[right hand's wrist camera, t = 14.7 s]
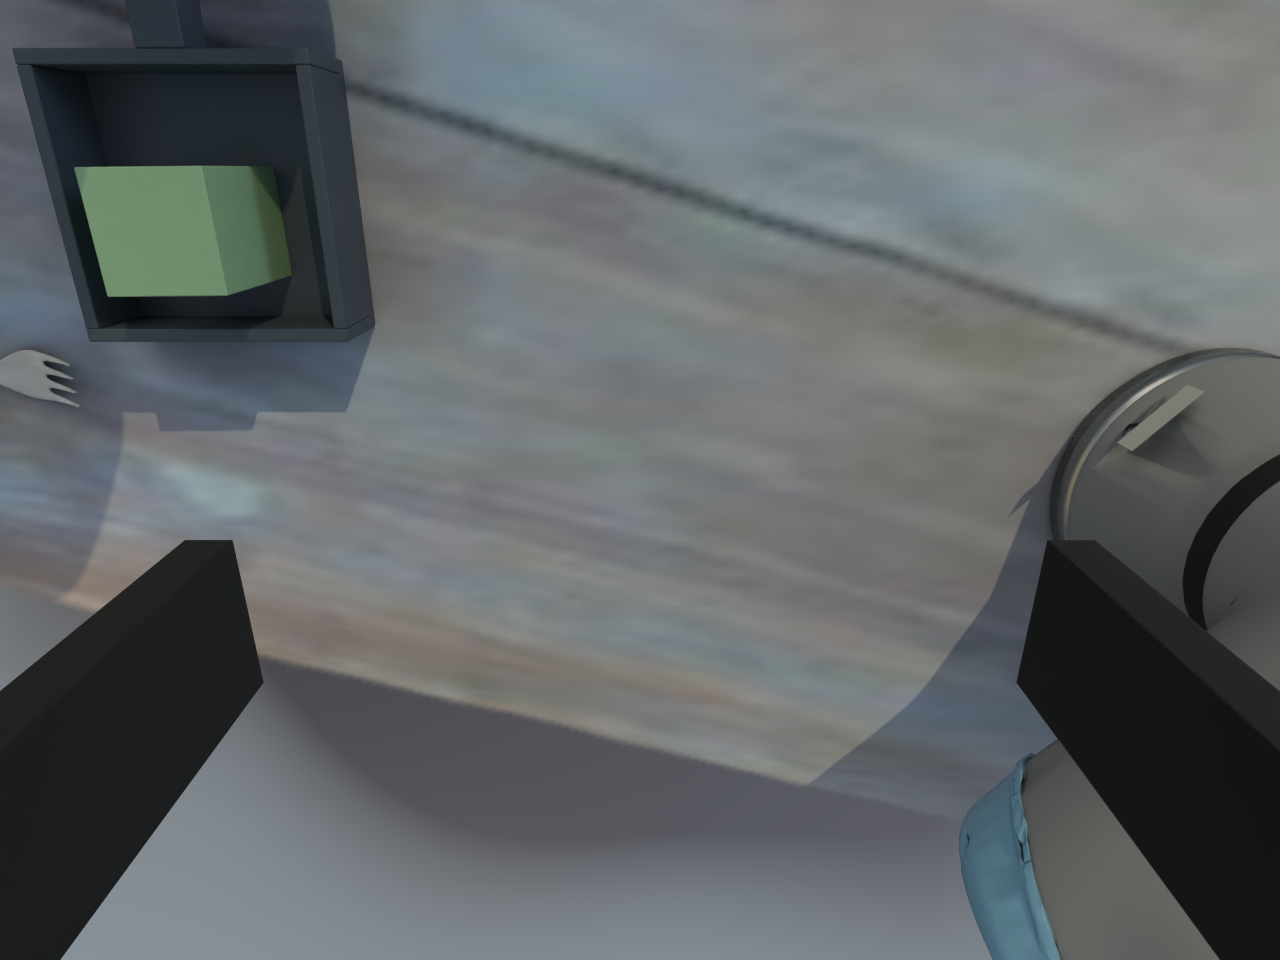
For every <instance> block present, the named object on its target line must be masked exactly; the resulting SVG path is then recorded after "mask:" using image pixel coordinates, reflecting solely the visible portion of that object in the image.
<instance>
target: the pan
mask: <svg viewBox="0 0 1280 960" xmlns="http://www.w3.org/2000/svg"><path fill="white" fill-rule="evenodd" d="M125 2H126V7H127V11H128V16H129V21H130V26H131V30H132V35H133V40H134V44H135V47H136V48H13V53H14V57H15V61H16V63H17V64H18V65H17V68H18V72H19V76H20V80H21V83H22V87H23V91H24V95H25V98H26V102H27V106H28V110H29V114H30V117H31V121H32V125H33V129H34V132H35V136H36V140H37V144H38V147H39V151H40V155H41V159H42V163H43V166H44V170H45V174H46V178H47V181H48V185H49V189H50V193H51V197H52V200H53V204H54V208H55V212H56V215H57V219H58V223H59V227H60V230H61V234H62V238H63V242H64V246H65V249H66V253H67V257H68V261H69V264H70V268H71V272H72V276H73V280H74V283H75V287H76V291H77V295H78V298H79V302H80V306H81V310H82V313H83V317H84V321H85V325H86V328H88V329H87V332H88V336H89V340H90V341H92V342H347V341H349V340H351V339H353V338H354V337H356V336H358V335H359V334H361V333H363V332H365V331H366V330H368V329H370V328H371V327H373V326H375V320H374V312H373V305H372V297H371V289H370V281H369V273H368V265H367V257H366V249H365V241H364V234H363V226H362V218H361V210H360V202H359V194H358V186H357V178H356V170H355V163H354V155H353V147H352V139H351V131H350V123H349V115H348V107H347V100H346V92H345V84H344V76H343V68H342V61H340V60H338V59H335V58H332V57H329V56H326V55H324V54H321V53H318V52H315V51H313V50H310V49H307V48H207V45H206V39H205V34H204V28H203V23H202V17H201V12H200V6H199V1H198V0H125ZM126 166H273V167H274V172H275V178H276V184H277V190H278V196H279V201H280V207H281V213H282V219H283V225H284V231H285V236H286V242H287V248H288V254H289V260H290V265H291V271H292V276H290V277H287V278H283V279H280V280H277V281H274V282H270V283H267V284H264V285H261V286H257V287H254V288H251V289H248V290H244V291H241V292H238V293H234V294H231V295H228V296H157V297H108V296H107V292H106V288H105V285H104V281H103V277H102V273H101V269H100V265H99V261H98V258H97V254H96V250H95V246H94V242H93V238H92V235H91V231H90V227H89V223H88V219H87V215H86V212H85V208H84V204H83V200H82V196H81V192H80V188H79V185H78V181H77V177H76V173H75V169H74V168H75V167H126Z"/></svg>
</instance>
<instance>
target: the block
mask: <svg viewBox="0 0 1280 960" xmlns="http://www.w3.org/2000/svg"><path fill="white" fill-rule="evenodd" d="M74 169H75V173H76V177H77V181H78V185H79V188H80V192H81V196H82V200H83V204H84V208H85V212H86V215H87V219H88V223H89V227H90V231H91V235H92V238H93V242H94V246H95V250H96V254H97V258H98V261H99V265H100V269H101V273H102V277H103V281H104V285H105V288H106V292H107V296H108V297H157V296H228V295H231V294H234V293H238V292H241V291H244V290H248V289H251V288H254V287H257V286H261V285H264V284H267V283H270V282H274V281H277V280H280V279H283V278H287V277H290V276H292V271H291V265H290V260H289V254H288V248H287V242H286V236H285V231H284V225H283V219H282V213H281V207H280V201H279V196H278V190H277V184H276V178H275V172H274V167H273V166H126V167H75V168H74Z"/></svg>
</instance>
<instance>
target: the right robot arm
mask: <svg viewBox="0 0 1280 960" xmlns="http://www.w3.org/2000/svg"><path fill="white" fill-rule="evenodd" d="M1051 523H1052V529H1053V534H1054V537H1055V540H1047V545H1046V549H1045V554H1044V559H1043V563H1042V568H1041V572H1040V577H1039V582H1038V586H1037V591H1036V595H1035V600H1034V605H1033V609H1032V614H1031V618H1030V623H1029V627H1028V632H1027V637H1026V641H1025V646H1024V650H1023V655H1022V660H1021V664H1020V669H1019V673H1018V678H1017V684H1018V685H1019V686H1020V688H1021V689H1022V691H1023V692H1024V693H1025V695H1026V696H1027V697H1028V699H1029V700H1030V701H1031V703H1032V704H1033V706H1034V707H1035V708H1036V710H1037V711H1038V712H1039V714H1040V715H1041V717H1042V718H1043V719H1044V721H1045V722H1046V723H1047V725H1048V726H1049V727H1050V729H1051V730H1052V732H1053V733H1054V734H1055V736H1056V737H1057V738H1058V739H1057V740H1056V741H1054V742H1053V743H1052V744H1050V745H1049V746H1047V747H1046V748H1045V749H1043V750H1042V751H1041V752H1039V753H1038V754H1036V755H1034V754H1029V755H1027V756H1025V757H1023V758H1022V759H1021V760H1020V761H1019V762H1018V763H1017V765H1016V768H1015V770H1014V772H1013V773H1011V774H1010V775H1009V776H1008V777H1007V778H1005V779H1004V780H1003V781H1002V782H1000V783H999V784H998V785H997V786H996V787H994V788H993V789H992V790H991V791H990V792H988V793H987V794H986V795H985V796H983V797H982V798H981V799H980V800H979V801H977V802H976V803H975V804H974V805H973V806H972V807H971V808H970V810H969V811H968V813H967V814H966V816H965V819H964V821H963V823H962V826H961V831H960V836H959V853H960V859H961V867H962V869H961V872H962V877H963V881H964V885H965V889H966V892H967V896H968V899H969V902H970V905H971V908H972V911H973V914H974V917H975V919H976V922H977V924H978V927H979V929H980V932H981V934H982V936H983V939H984V941H985V944H986V946H987V948H988V950H989V952H990V955H991V957H992V959H993V960H1280V356H1276V355H1273V354H1269V353H1266V352H1262V351H1257V350H1251V349H1241V348H1220V349H1211V350H1203V351H1198V352H1194V353H1190V354H1186V355H1183V356H1179V357H1176V358H1173V359H1170V360H1168V361H1166V362H1163V363H1161V364H1158V365H1156V366H1154V367H1152V368H1150V369H1148V370H1146V371H1144V372H1143V373H1141V374H1139V375H1138V376H1136V377H1134V378H1133V379H1131V380H1129V381H1128V382H1127V383H1125V384H1124V385H1123V386H1121V387H1120V388H1118V389H1117V390H1116V391H1115V392H1113V393H1112V394H1111V395H1110V396H1109V397H1108V398H1106V399H1105V400H1104V401H1103V402H1102V403H1101V404H1100V405H1099V406H1098V407H1097V408H1096V409H1095V410H1094V411H1093V412H1092V413H1091V415H1090V416H1089V417H1088V418H1087V419H1086V420H1085V422H1084V423H1083V424H1082V426H1081V427H1080V428H1079V430H1078V431H1077V433H1076V434H1075V436H1074V437H1073V439H1072V440H1071V442H1070V444H1069V445H1068V447H1067V449H1066V451H1065V453H1064V455H1063V457H1062V460H1061V462H1060V465H1059V467H1058V470H1057V473H1056V477H1055V480H1054V484H1053V490H1052V496H1051ZM262 684H263V678H262V673H261V669H260V664H259V660H258V655H257V650H256V646H255V641H254V637H253V632H252V628H251V623H250V618H249V614H248V609H247V605H246V600H245V595H244V591H243V586H242V582H241V577H240V572H239V568H238V563H237V559H236V554H235V549H234V545H233V540H185V541H183V542H182V543H181V544H180V545H178V546H177V547H176V548H175V549H174V550H172V551H171V552H170V553H169V554H167V555H166V556H165V557H164V558H163V559H161V560H160V561H159V562H158V563H156V564H155V565H154V566H153V567H152V568H150V569H149V570H148V571H147V572H145V573H144V574H143V575H142V576H141V577H139V578H138V579H137V580H136V581H134V582H133V583H132V584H131V585H130V586H128V587H127V588H126V589H125V590H123V591H122V592H121V593H120V594H118V595H117V596H116V597H115V598H114V599H112V600H111V601H110V602H109V603H107V604H106V605H105V606H104V607H103V608H101V609H100V610H99V611H98V612H96V613H95V614H94V615H93V616H92V617H90V618H89V619H88V620H87V621H85V622H84V623H83V624H82V625H81V626H79V627H78V628H77V629H76V630H74V631H73V632H72V633H71V634H70V635H68V636H67V637H66V638H65V639H63V640H62V641H61V642H60V643H58V644H57V645H56V646H55V647H54V648H52V649H51V650H50V651H49V652H47V653H46V654H45V655H44V656H43V657H41V658H40V659H39V660H38V661H36V662H35V663H34V664H33V665H32V666H30V667H29V668H28V669H27V670H25V671H24V672H23V673H22V674H21V675H19V676H18V677H17V678H16V679H14V680H13V681H12V682H11V683H10V684H8V685H7V686H6V687H5V688H3V689H2V690H1V691H0V960H60V959H61V958H62V957H63V955H64V954H65V953H66V951H67V950H68V949H69V947H70V946H71V944H72V943H73V942H74V940H75V939H76V938H77V936H78V935H79V934H80V932H81V931H82V929H83V928H84V927H85V925H86V924H87V923H88V921H89V920H90V918H91V917H92V916H93V914H94V913H95V912H96V910H97V909H98V908H99V906H100V905H101V903H102V902H103V901H104V899H105V898H106V897H107V895H108V894H109V893H110V891H111V890H112V888H113V887H114V886H115V884H116V883H117V882H118V880H119V879H120V878H121V876H122V875H123V873H124V872H125V871H126V869H127V868H128V867H129V865H130V864H131V863H132V861H133V860H134V858H135V857H136V856H137V854H138V853H139V852H140V850H141V849H142V848H143V846H144V845H145V843H146V842H147V841H148V839H149V838H150V836H151V835H152V834H153V833H154V831H155V830H156V828H157V827H158V826H159V824H160V823H161V822H162V820H163V819H164V817H165V816H166V815H167V813H168V812H169V811H170V809H171V808H172V807H173V805H174V804H175V802H176V801H177V800H178V798H179V797H180V796H181V794H182V793H183V792H184V790H185V789H186V787H187V786H188V785H189V783H190V782H191V781H192V779H193V778H194V776H195V775H196V774H197V772H198V771H199V770H200V768H201V767H202V766H203V764H204V763H205V762H206V760H207V759H208V757H209V756H210V755H211V753H212V752H213V751H214V749H215V748H216V747H217V745H218V744H219V742H220V741H221V740H222V738H223V737H224V735H225V734H226V733H227V732H228V730H229V729H230V727H231V726H232V725H233V723H234V722H235V721H236V719H237V718H238V717H239V715H240V714H241V712H242V711H243V710H244V708H245V707H246V706H247V704H248V703H249V701H250V700H251V699H252V697H253V696H254V695H255V693H256V692H257V691H258V689H259V688H260V686H261V685H262Z"/></svg>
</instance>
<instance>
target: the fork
mask: <svg viewBox="0 0 1280 960" xmlns="http://www.w3.org/2000/svg"><path fill="white" fill-rule="evenodd" d="M44 361H50V362H55V363H59V364H64V365H66V366H71V364H70V363H67V362H65V361H63V360H60V359H58V358H55V357H53V356H50V355H47V354H44V353H41V352H37V351H34V350H21V351H17V352H15V353H12V354H10V355H8V356H6V357H5V358H3V359H1V360H0V385H2V386H5V387H7V388H10V389H12V390H15V391H17V392H19V393H22V394H25V395H28V396H31V397H34V398H38V399H44V400H53V401H58V402H62V403H66V404H70V405H73V406H76V407H81V405H79V404H77V403H75V402H73V401H71V400H68V399H66V398H64V397H61V396H59V395H56V394H54V393H53V392H51V390H50V389H51V388H56V389H60V390H64V391H68V392H72V393H78V392H77V391H75V390H73V389H70V388H68V387H66V386H64V385H61V384H59V383H56V382H54V381H51V380H50V379H48V377H47V375H55V376H59V377H63V378H67V379H70V380H72V379H74V378H73V377H71V376H69V375H66V374H64V373H62V372H59V371H57V370H54V369H52V368H49V367H47V366H46V365H45V364H44Z"/></svg>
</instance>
